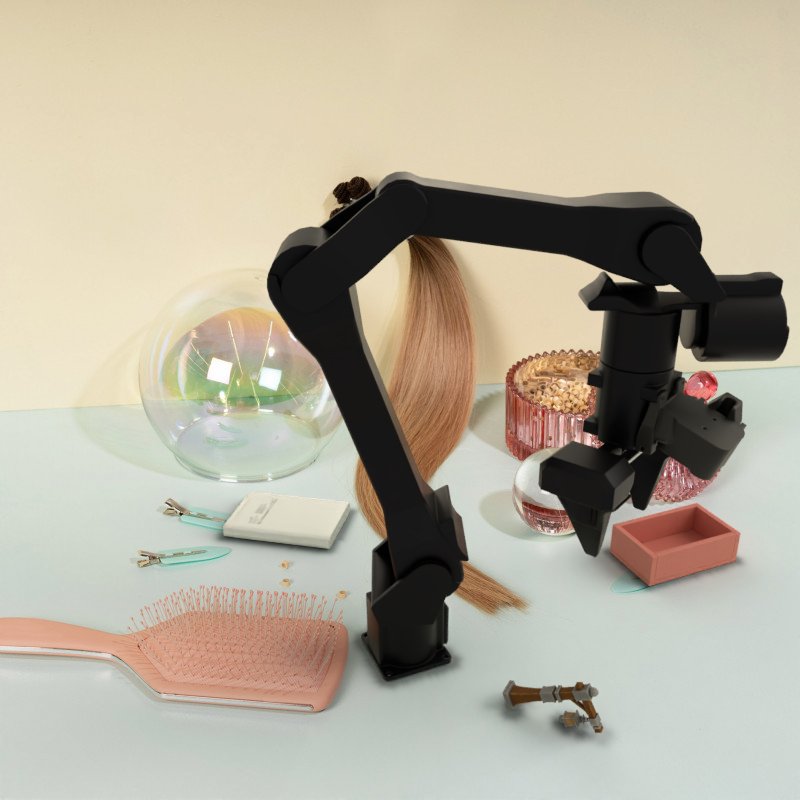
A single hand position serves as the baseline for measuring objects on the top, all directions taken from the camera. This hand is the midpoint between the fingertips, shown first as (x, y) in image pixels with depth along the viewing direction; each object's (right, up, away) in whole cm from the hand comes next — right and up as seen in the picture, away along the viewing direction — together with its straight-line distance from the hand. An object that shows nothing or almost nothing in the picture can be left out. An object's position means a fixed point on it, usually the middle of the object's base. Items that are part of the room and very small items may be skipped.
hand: (616, 530), depth 72 cm
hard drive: (-31, -3, +25) cm, 40 cm away
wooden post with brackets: (-6, -15, -3) cm, 16 cm away
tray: (+10, -6, +18) cm, 22 cm away
